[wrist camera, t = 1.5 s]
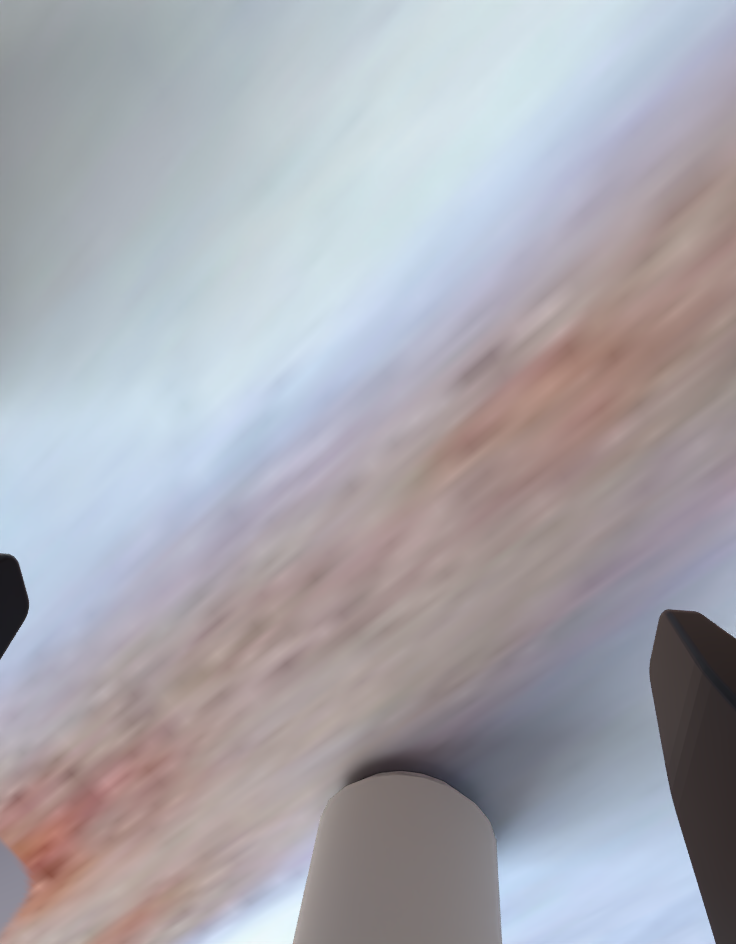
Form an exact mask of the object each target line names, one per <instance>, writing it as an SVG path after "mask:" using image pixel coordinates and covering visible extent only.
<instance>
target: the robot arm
mask: <svg viewBox="0 0 736 944" xmlns="http://www.w3.org/2000/svg"><path fill="white" fill-rule="evenodd" d="M28 610H29V599H28V595H27V591H26V588H25V584H24V580H23V577H22V573H21V569H20V566H19V563H18V561H17V560H16V558H15V557H14V556H12V555H10V554H3V553H0V659H1V658H2V656H3V654H4V653H5V651H6V649H7V648H8V646H9V645H10V643H11V641H12V640H13V638H14V636H15V635H16V633H17V632H18V630H19V628H20V627H21V625H22V624H23V622H24V620H25V618H26V616H27V614H28ZM650 682H651V688H652V693H653V699H654V705H655V710H656V716H657V721H658V727H659V732H660V738H661V743H662V749H663V755H664V760H665V766H666V771H667V776H668V781H669V786H670V791H671V795H672V799H673V803H674V806H675V810H676V814H677V817H678V820H679V824H680V827H681V830H682V834H683V837H684V840H685V843H686V847H687V850H688V853H689V857H690V860H691V863H692V866H693V870H694V873H695V876H696V880H697V883H698V886H699V890H700V893H701V896H702V899H703V903H704V906H705V909H706V913H707V916H708V919H709V922H710V926H711V929H712V932H713V936H714V939H715V942H716V944H736V639H735V638H734V637H733V636H731V635H730V634H728V633H727V632H726V631H724V630H723V629H722V628H720V627H719V626H717V625H716V624H715V623H713V622H712V621H710V620H709V619H708V618H706V617H705V616H704V615H702V614H700V613H698V612H695V611H683V610H670V609H668V610H665V611H664V612H662V614H661V616H660V618H659V622H658V626H657V631H656V636H655V640H654V645H653V650H652V654H651V659H650Z"/></svg>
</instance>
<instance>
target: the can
mask: <svg viewBox="0 0 736 944" xmlns="http://www.w3.org/2000/svg"><path fill="white" fill-rule="evenodd" d="M293 944H502V934H501V916H500V898H499V881H498V863H497V845H496V839H495V836H494V832H493V829H492V826H491V823H490V821H489V820H488V818H487V817H486V816H485V815H484V813H483V812H482V811H481V810H480V808H479V807H478V806H477V805H476V804H475V803H474V802H473V801H471V800H470V799H468V798H467V797H465V796H464V795H462V794H461V793H460V792H459V791H457V790H456V789H454V788H453V787H451V786H450V785H448V784H447V783H445V782H444V781H442V780H439V779H436V778H433V777H431V776H428V775H425V774H422V773H414V772H406V771H393V772H384V773H378V774H375V775H373V776H370V777H368V778H365V779H363V780H360V781H358V782H355V783H353V784H350V785H348V786H345V787H344V788H343V789H342V790H340V791H339V792H338V793H337V794H336V795H335V796H333V797H332V798H331V799H330V800H329V801H328V803H327V805H326V807H325V809H324V811H323V813H322V816H321V818H320V822H319V827H318V831H317V836H316V840H315V845H314V849H313V854H312V858H311V863H310V868H309V872H308V877H307V881H306V886H305V890H304V895H303V899H302V904H301V909H300V913H299V918H298V922H297V927H296V931H295V936H294V940H293Z"/></svg>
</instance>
